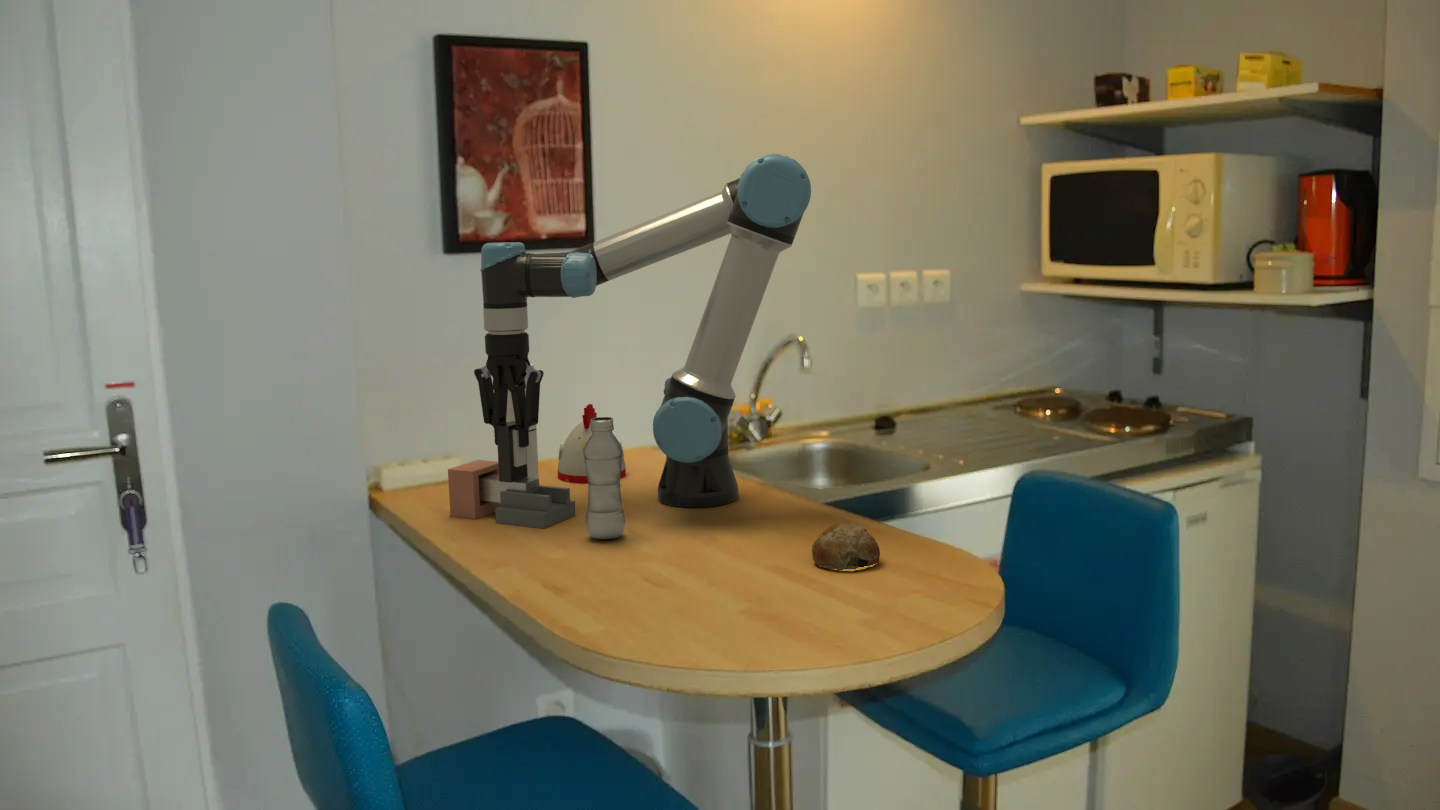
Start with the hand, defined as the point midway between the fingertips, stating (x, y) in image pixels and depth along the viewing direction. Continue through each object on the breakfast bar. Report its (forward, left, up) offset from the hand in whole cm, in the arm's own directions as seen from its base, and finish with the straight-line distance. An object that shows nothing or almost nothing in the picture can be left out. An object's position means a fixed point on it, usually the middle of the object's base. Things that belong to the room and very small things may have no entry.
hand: (512, 464), depth 199 cm
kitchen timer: (+5, -33, -10) cm, 35 cm away
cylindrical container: (+10, -15, -10) cm, 20 cm away
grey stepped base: (-4, 0, -10) cm, 11 cm away
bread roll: (-63, +4, -10) cm, 64 cm away
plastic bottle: (-22, +6, -10) cm, 25 cm away
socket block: (+8, 0, -10) cm, 13 cm away
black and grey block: (+3, 0, -7) cm, 7 cm away
